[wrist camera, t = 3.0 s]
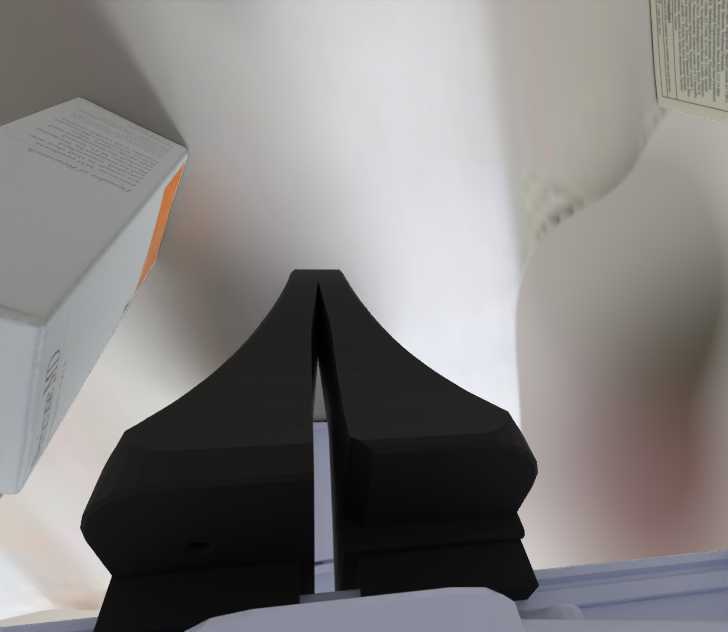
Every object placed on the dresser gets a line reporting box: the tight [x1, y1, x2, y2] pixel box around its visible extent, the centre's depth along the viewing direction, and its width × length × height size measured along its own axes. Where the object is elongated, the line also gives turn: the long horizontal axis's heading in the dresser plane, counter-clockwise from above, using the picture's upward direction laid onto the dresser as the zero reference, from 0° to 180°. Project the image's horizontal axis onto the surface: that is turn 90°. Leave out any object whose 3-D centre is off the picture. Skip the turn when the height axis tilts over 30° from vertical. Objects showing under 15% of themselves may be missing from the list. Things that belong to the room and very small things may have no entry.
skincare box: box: [0, 97, 189, 495], centre depth 12 cm, size 6×4×12 cm
